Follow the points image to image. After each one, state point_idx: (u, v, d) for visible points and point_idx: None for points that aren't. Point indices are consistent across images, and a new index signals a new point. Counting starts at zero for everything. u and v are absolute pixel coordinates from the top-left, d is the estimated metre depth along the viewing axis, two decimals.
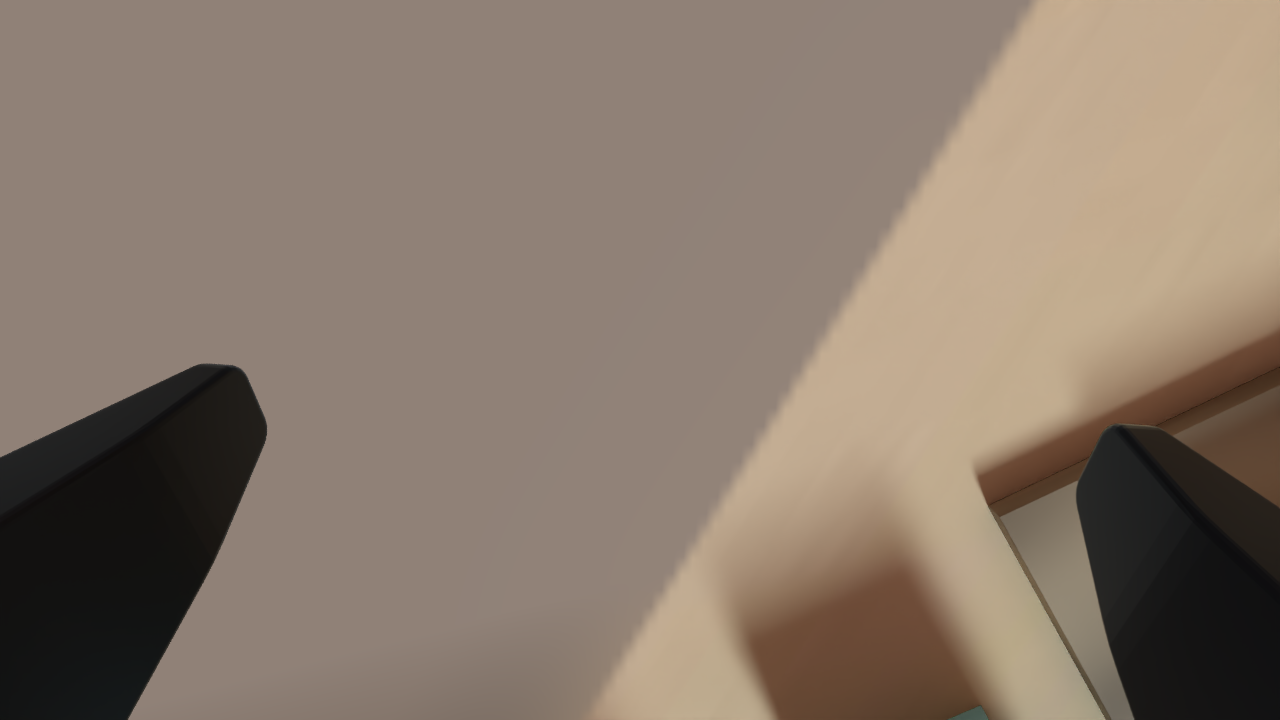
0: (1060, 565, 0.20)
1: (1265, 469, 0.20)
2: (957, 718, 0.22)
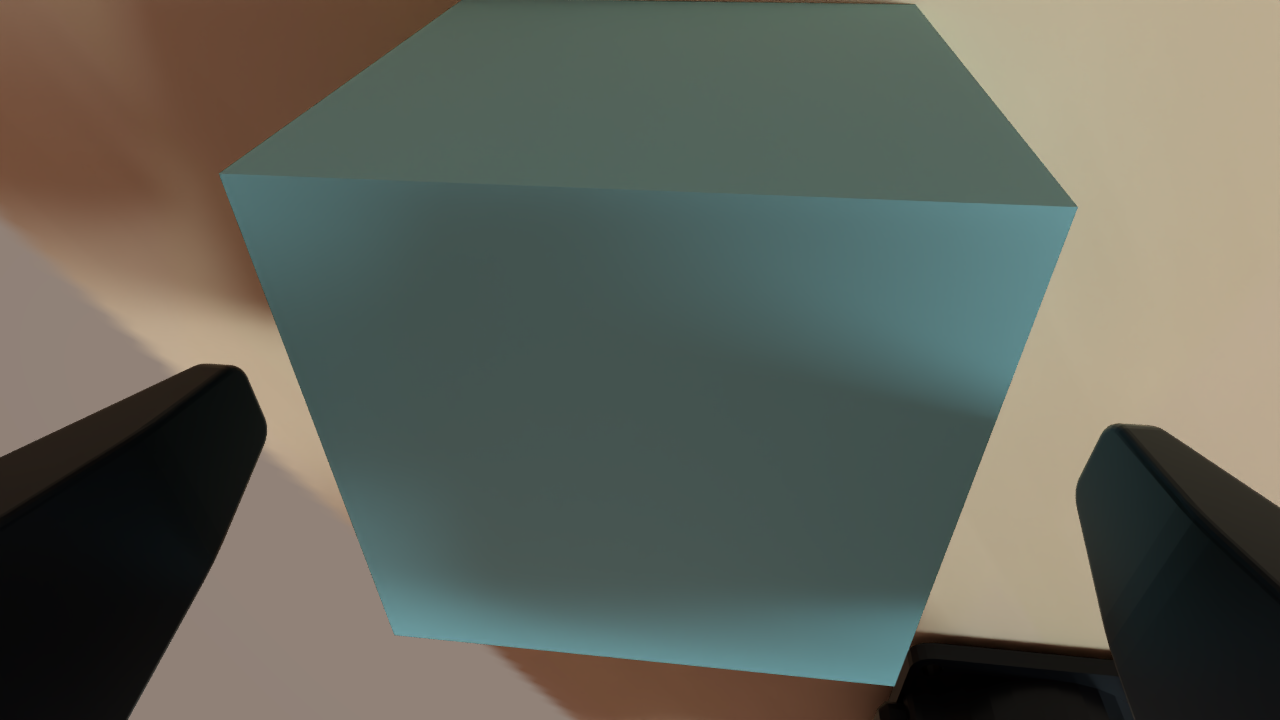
0: None
1: None
2: None
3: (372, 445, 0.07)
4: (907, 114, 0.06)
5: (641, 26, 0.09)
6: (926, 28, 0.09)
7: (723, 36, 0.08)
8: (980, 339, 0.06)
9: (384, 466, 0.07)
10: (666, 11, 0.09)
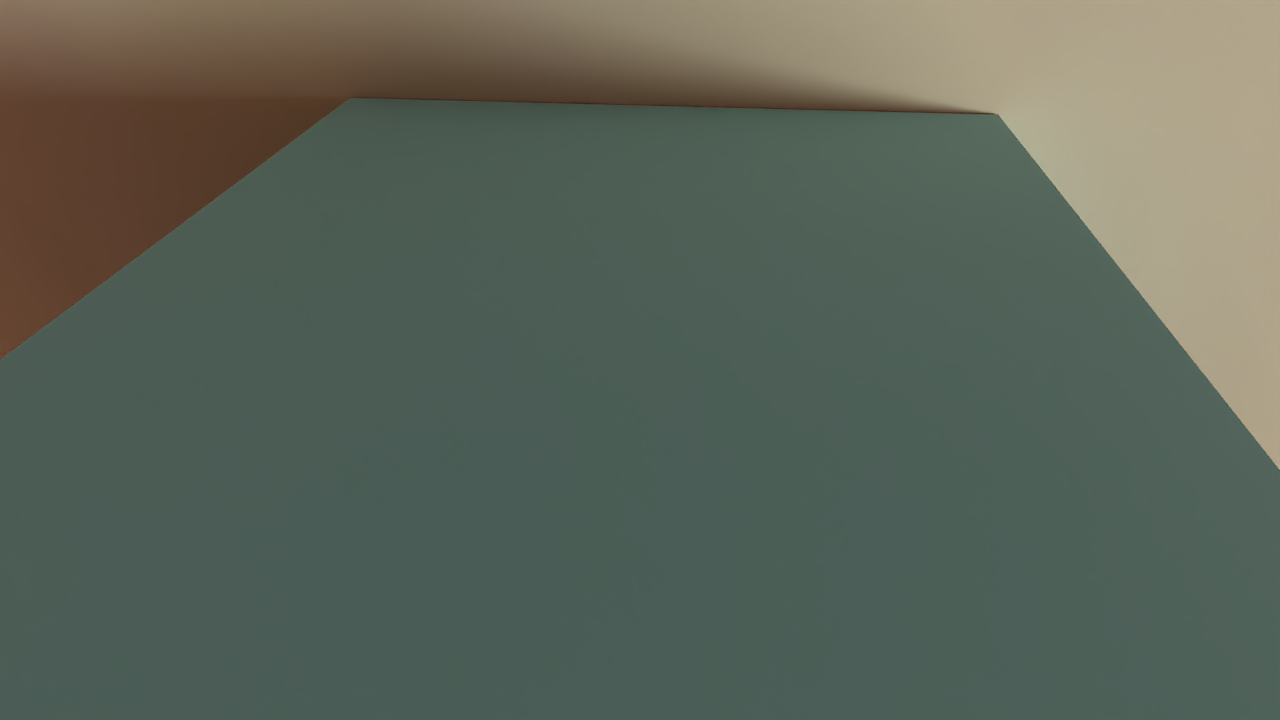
0: None
1: None
2: None
3: None
4: (1071, 448, 0.03)
5: (590, 166, 0.06)
6: (1033, 174, 0.05)
7: (716, 192, 0.05)
8: None
9: None
10: (632, 131, 0.06)
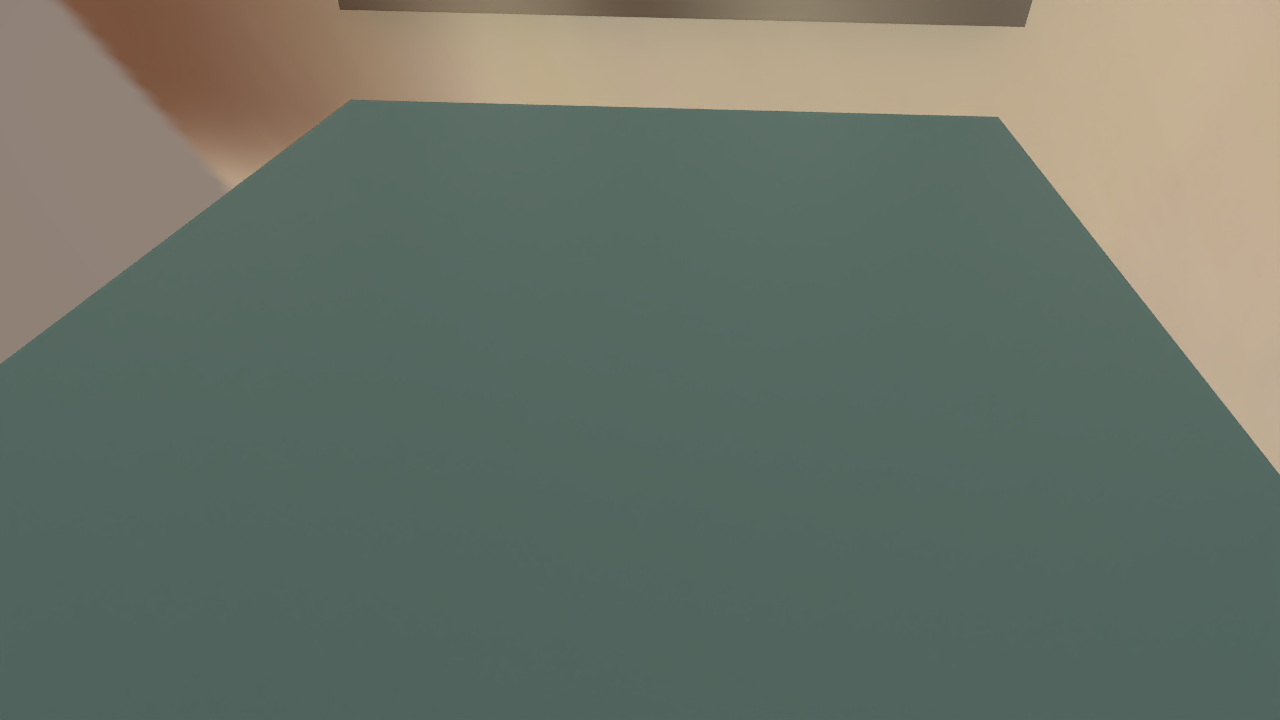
0: None
1: None
2: None
3: None
4: (1072, 450, 0.03)
5: (590, 169, 0.06)
6: (1033, 177, 0.05)
7: (716, 195, 0.05)
8: None
9: None
10: (633, 133, 0.06)
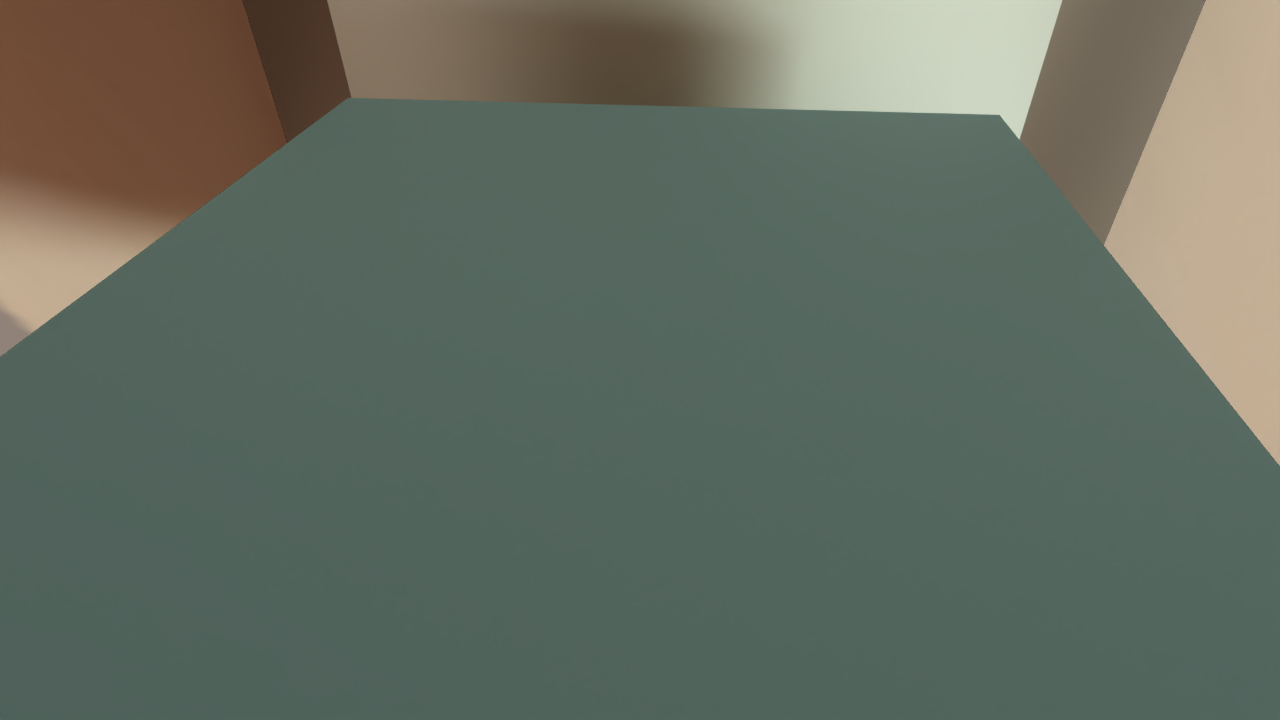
0: None
1: None
2: None
3: None
4: (1075, 451, 0.03)
5: (589, 167, 0.06)
6: (1035, 175, 0.05)
7: (716, 193, 0.05)
8: None
9: None
10: (632, 131, 0.06)
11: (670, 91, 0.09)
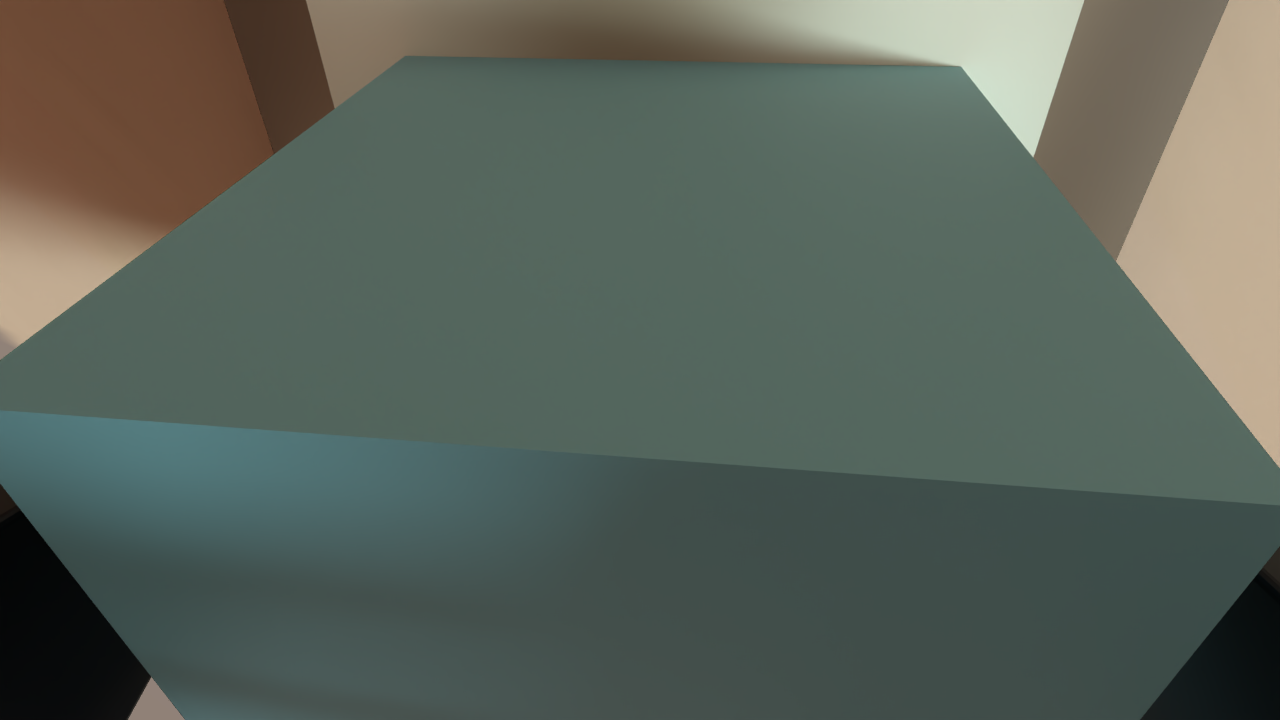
0: None
1: None
2: None
3: (238, 707, 0.05)
4: (988, 274, 0.04)
5: (617, 104, 0.07)
6: (984, 109, 0.07)
7: (722, 122, 0.06)
8: (1116, 653, 0.04)
9: None
10: (650, 79, 0.07)
11: None
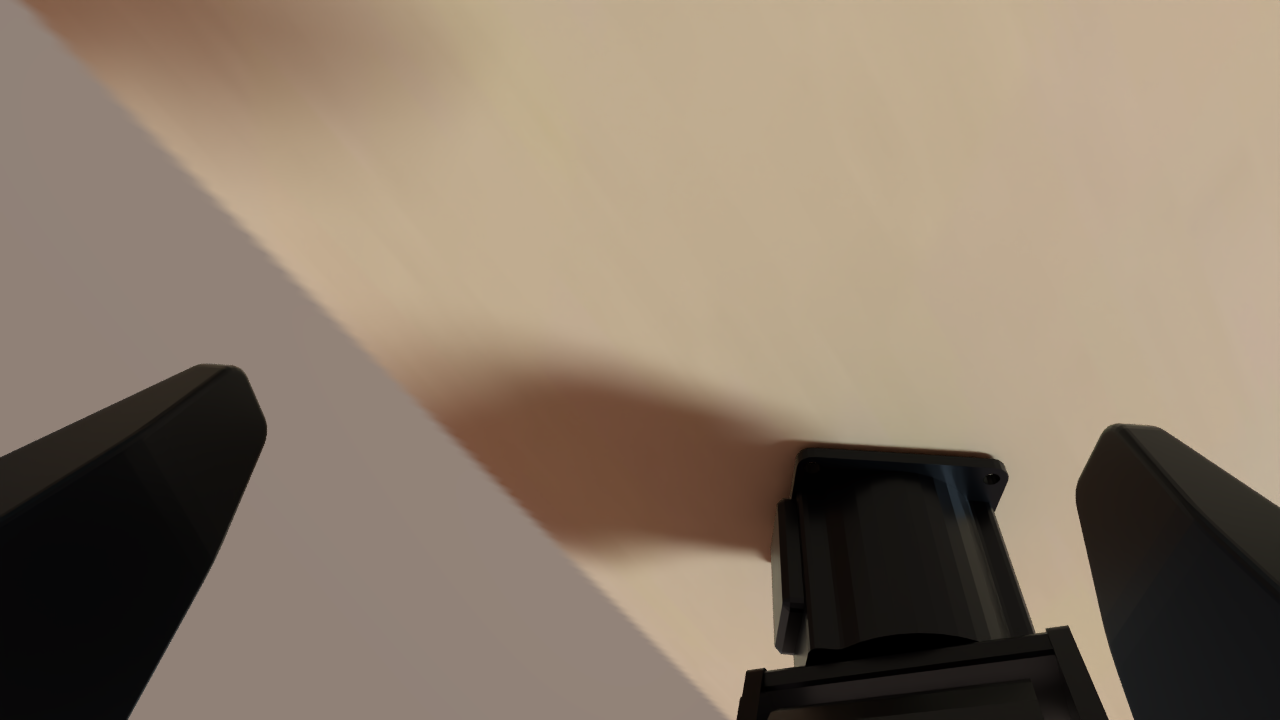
0: None
1: None
2: None
3: None
4: None
5: None
6: None
7: None
8: None
9: None
10: None
11: None
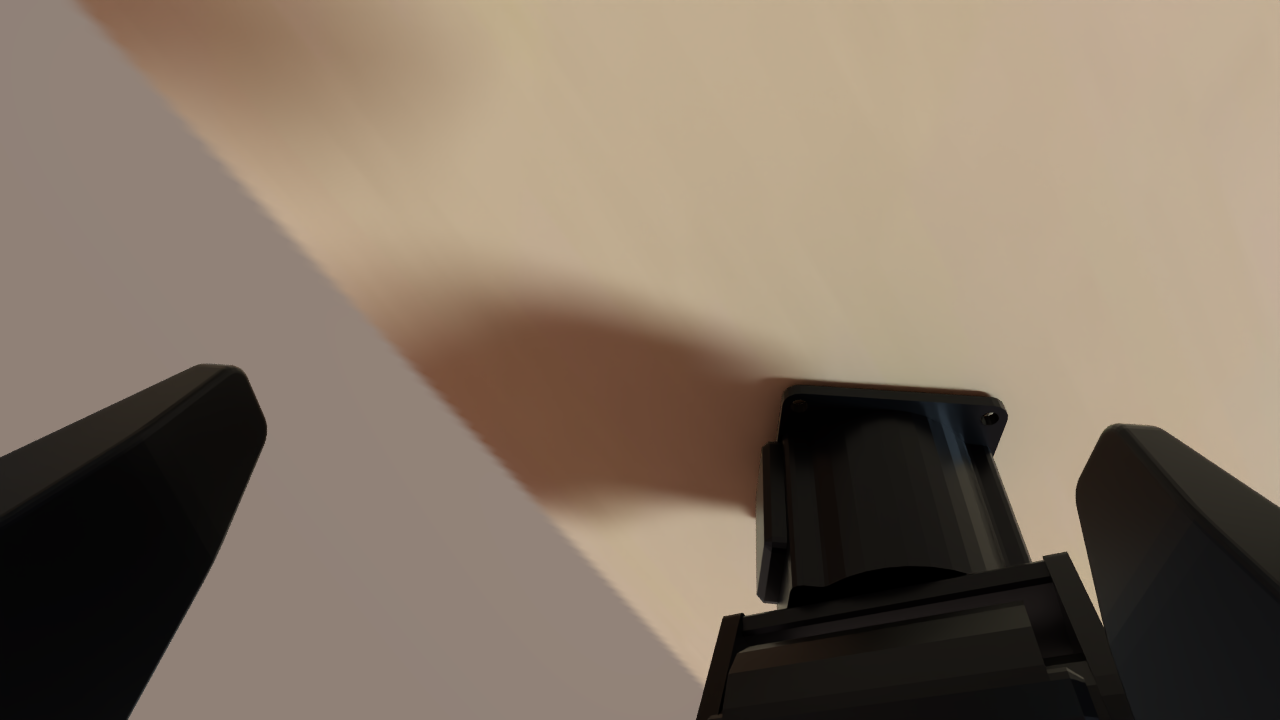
0: None
1: None
2: None
3: None
4: None
5: None
6: None
7: None
8: None
9: None
10: None
11: None
